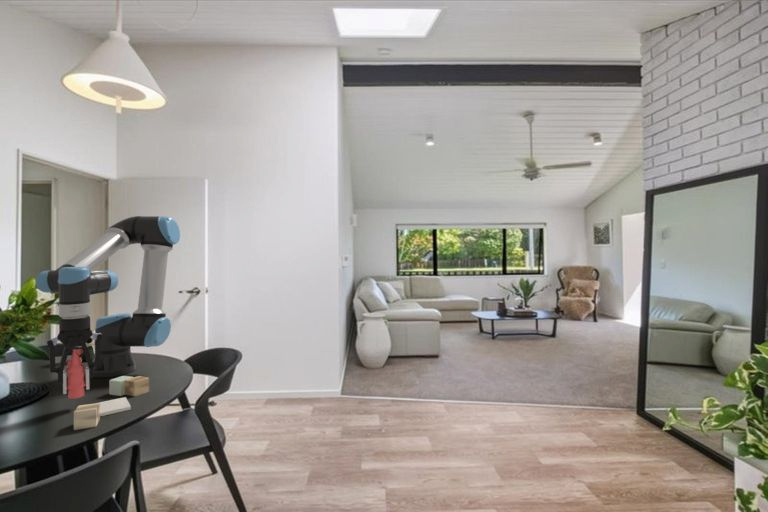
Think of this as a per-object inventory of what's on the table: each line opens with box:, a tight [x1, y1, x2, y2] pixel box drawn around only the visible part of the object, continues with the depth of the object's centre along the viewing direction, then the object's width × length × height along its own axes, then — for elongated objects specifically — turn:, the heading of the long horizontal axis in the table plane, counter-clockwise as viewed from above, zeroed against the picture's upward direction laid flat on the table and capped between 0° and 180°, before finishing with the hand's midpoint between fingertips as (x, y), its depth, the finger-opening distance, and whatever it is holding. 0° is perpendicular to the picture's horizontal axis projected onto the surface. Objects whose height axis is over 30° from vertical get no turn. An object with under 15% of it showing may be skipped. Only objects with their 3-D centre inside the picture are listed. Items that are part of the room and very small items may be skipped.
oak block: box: [125, 375, 150, 398], centre depth 132 cm, size 5×5×5 cm
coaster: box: [98, 396, 132, 417], centre depth 118 cm, size 10×10×1 cm
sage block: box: [108, 375, 134, 397], centre depth 132 cm, size 5×5×5 cm
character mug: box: [76, 329, 95, 362], centre depth 170 cm, size 11×7×13 cm, turn 119°
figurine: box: [65, 348, 86, 400], centre depth 119 cm, size 5×5×15 cm
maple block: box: [73, 402, 101, 431], centre depth 108 cm, size 5×5×5 cm
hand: (76, 390), depth 119 cm, fingers closed on figurine, 5 cm apart
